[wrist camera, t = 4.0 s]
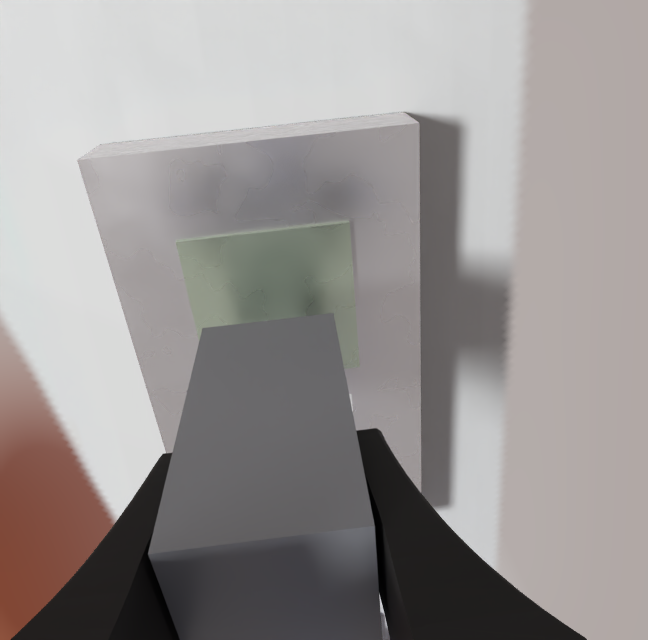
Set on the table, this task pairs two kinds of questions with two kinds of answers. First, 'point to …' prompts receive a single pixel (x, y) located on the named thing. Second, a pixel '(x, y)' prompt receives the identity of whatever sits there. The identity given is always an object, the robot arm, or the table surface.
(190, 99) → the table surface
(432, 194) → the table surface
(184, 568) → the grey rectangular block
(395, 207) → the plate
